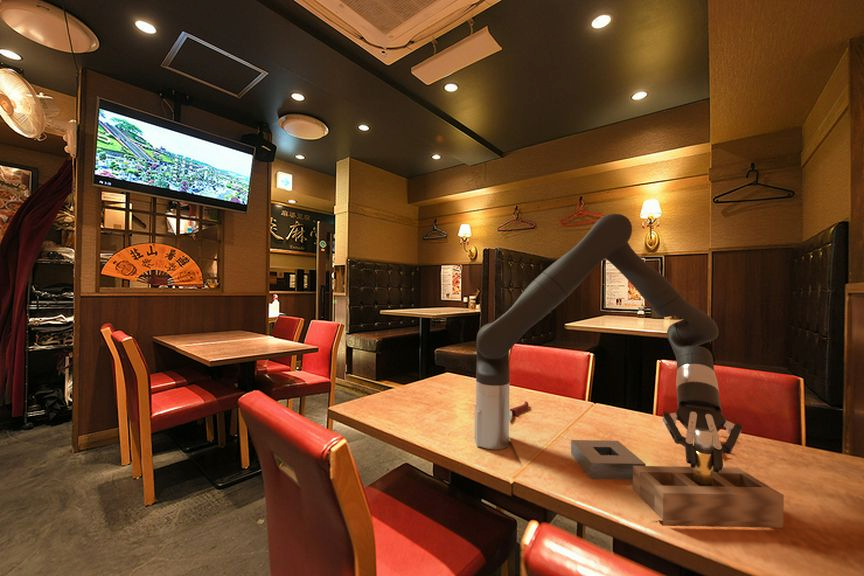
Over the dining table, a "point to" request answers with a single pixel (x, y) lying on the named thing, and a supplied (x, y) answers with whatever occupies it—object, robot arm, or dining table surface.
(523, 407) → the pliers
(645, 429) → the dining table surface
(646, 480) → the vial rack
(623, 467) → the socket block
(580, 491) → the dining table surface
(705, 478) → the gold clear cylinder
